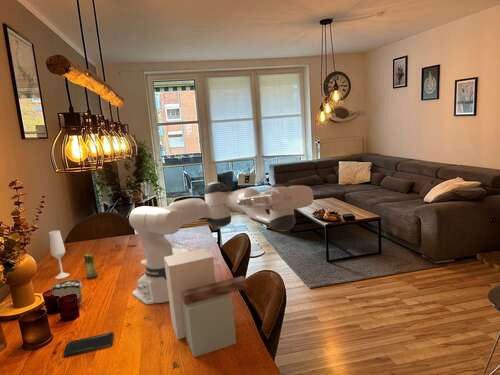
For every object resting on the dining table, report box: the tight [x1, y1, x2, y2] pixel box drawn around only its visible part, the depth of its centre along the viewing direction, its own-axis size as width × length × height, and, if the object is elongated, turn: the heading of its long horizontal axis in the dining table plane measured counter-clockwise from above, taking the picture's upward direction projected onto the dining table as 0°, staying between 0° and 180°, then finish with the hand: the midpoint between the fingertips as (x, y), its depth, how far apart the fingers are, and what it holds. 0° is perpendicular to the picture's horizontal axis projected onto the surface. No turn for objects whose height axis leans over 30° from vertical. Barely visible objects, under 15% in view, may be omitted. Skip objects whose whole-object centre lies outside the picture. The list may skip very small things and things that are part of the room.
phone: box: [62, 332, 115, 358], centre depth 118 cm, size 8×1×15 cm
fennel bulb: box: [83, 254, 98, 279], centre depth 176 cm, size 6×5×12 cm
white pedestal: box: [164, 248, 217, 340], centre depth 122 cm, size 15×10×26 cm, turn 113°
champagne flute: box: [48, 230, 70, 280], centre depth 179 cm, size 7×7×24 cm
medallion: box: [140, 246, 190, 265], centre depth 195 cm, size 24×27×2 cm
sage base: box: [181, 293, 237, 358], centre depth 113 cm, size 14×10×16 cm
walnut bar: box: [181, 275, 248, 305], centre depth 113 cm, size 21×4×3 cm, turn 114°
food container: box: [50, 279, 83, 308], centre depth 148 cm, size 12×6×10 cm, turn 92°
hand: (245, 202), depth 120 cm, fingers open, 8 cm apart
